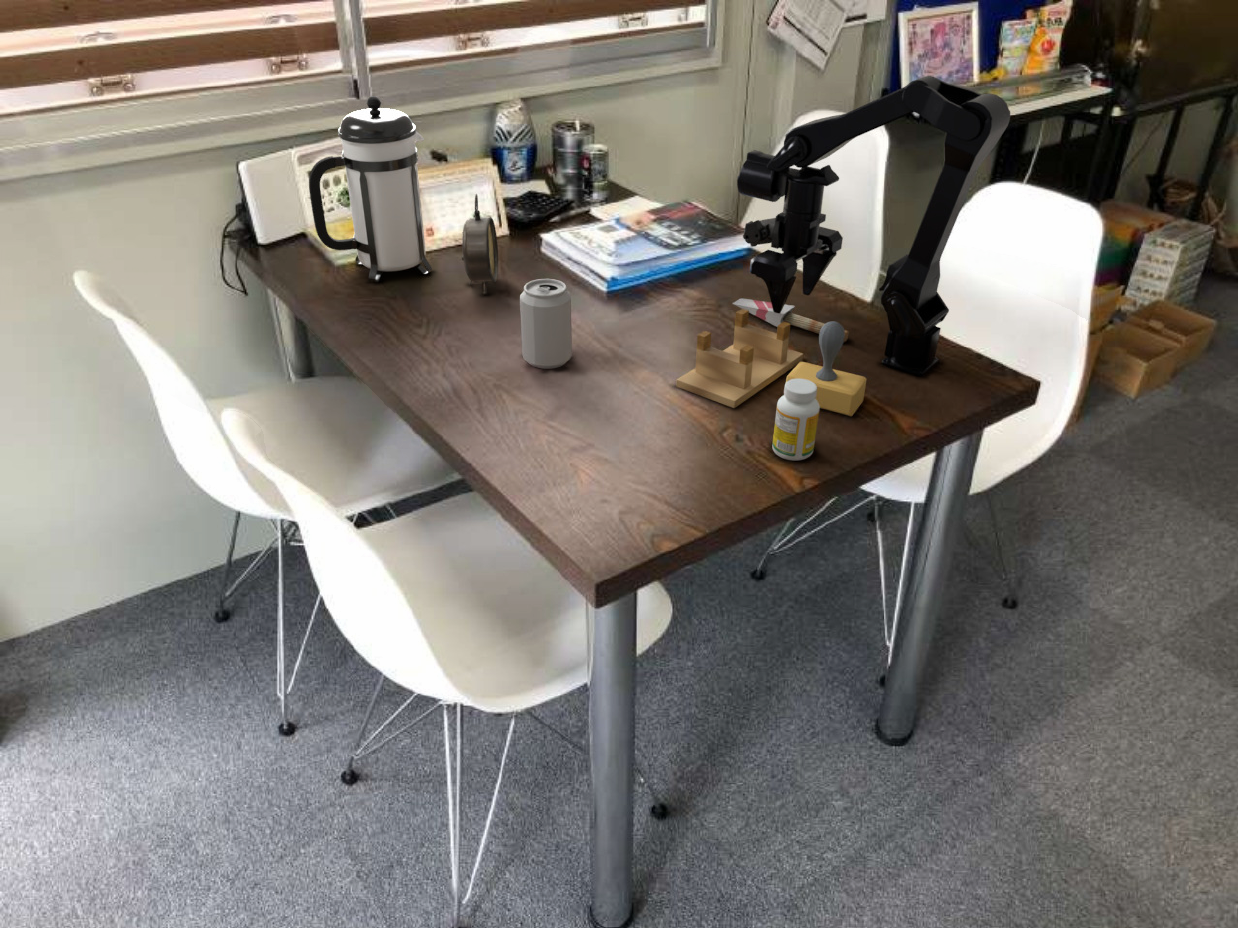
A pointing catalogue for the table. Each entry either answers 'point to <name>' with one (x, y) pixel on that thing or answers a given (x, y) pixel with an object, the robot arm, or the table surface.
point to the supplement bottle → (796, 420)
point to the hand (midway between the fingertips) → (791, 303)
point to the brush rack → (740, 363)
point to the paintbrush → (780, 315)
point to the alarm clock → (480, 249)
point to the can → (546, 323)
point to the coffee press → (377, 190)
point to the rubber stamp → (832, 375)
